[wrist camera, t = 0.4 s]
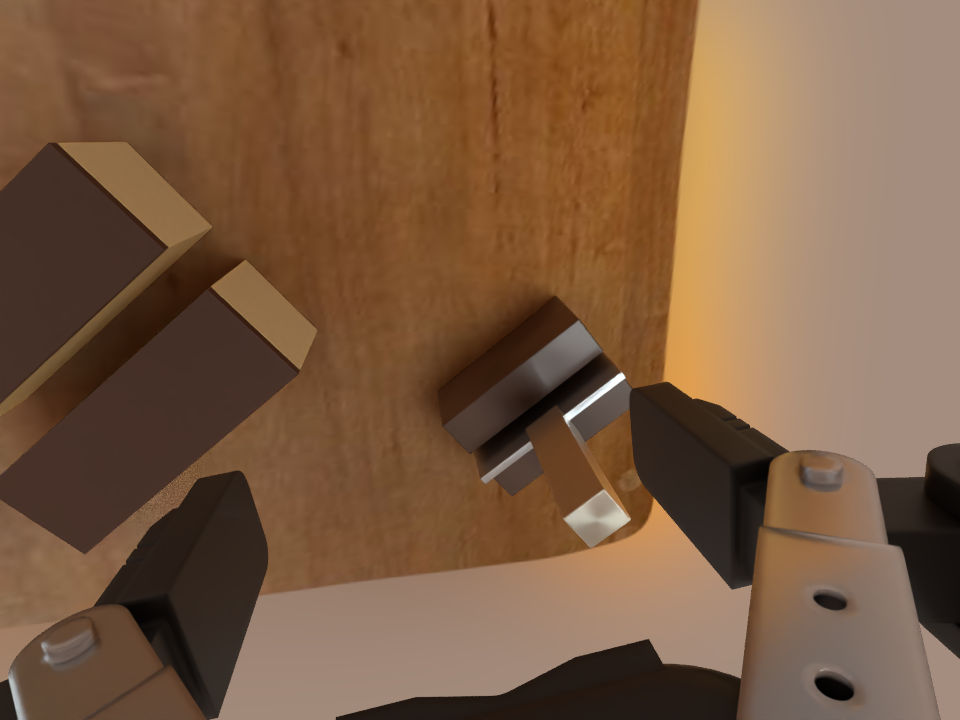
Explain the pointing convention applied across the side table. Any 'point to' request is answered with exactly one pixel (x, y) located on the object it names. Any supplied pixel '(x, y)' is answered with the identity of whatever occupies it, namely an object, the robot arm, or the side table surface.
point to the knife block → (526, 386)
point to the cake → (147, 374)
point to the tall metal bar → (564, 452)
